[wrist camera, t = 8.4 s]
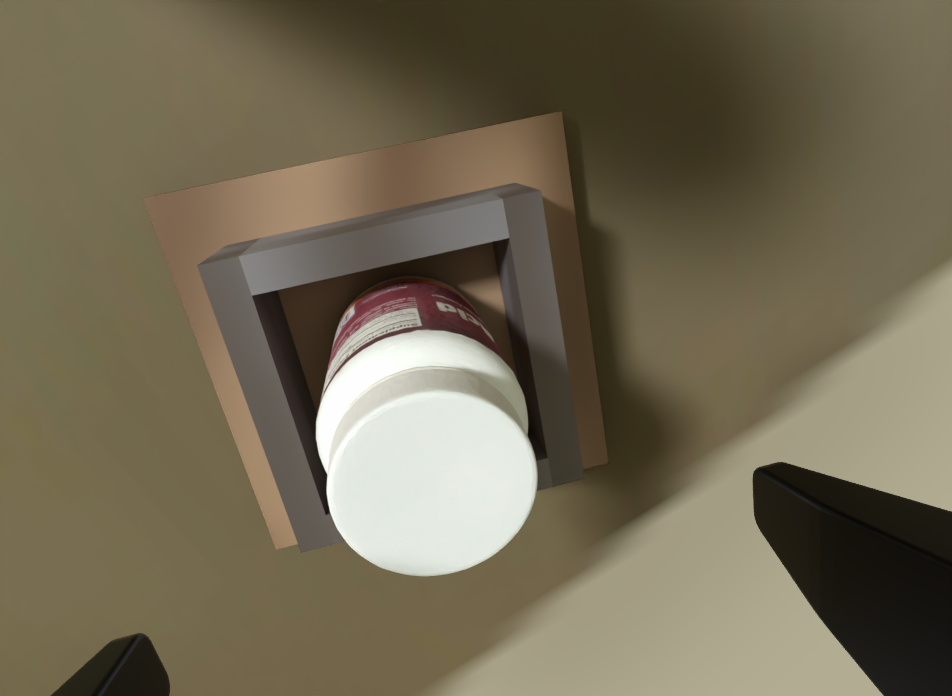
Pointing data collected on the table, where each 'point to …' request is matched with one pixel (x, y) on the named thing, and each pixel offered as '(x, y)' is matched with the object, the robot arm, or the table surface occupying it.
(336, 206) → the bottle holder
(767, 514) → the robot arm
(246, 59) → the table surface
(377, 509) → the pill bottle
